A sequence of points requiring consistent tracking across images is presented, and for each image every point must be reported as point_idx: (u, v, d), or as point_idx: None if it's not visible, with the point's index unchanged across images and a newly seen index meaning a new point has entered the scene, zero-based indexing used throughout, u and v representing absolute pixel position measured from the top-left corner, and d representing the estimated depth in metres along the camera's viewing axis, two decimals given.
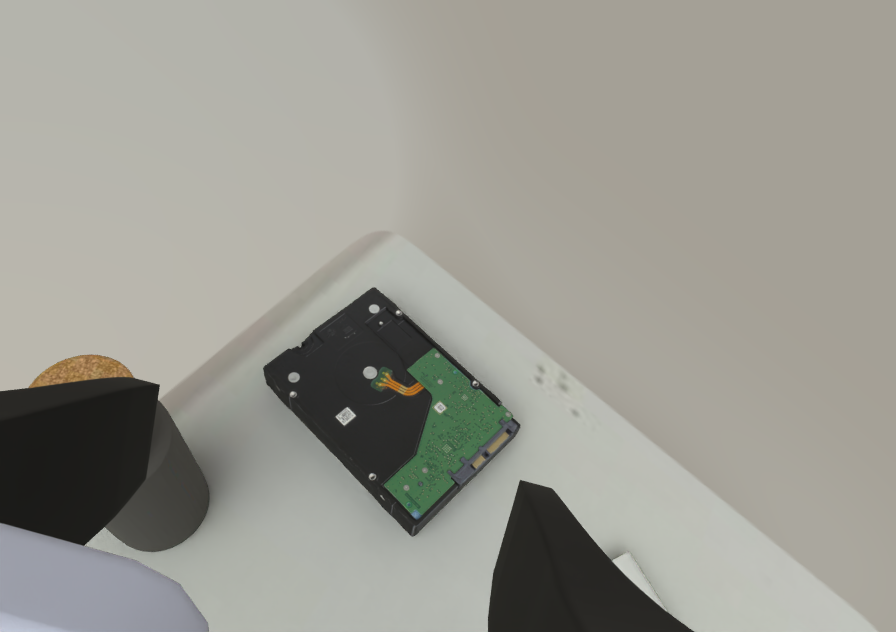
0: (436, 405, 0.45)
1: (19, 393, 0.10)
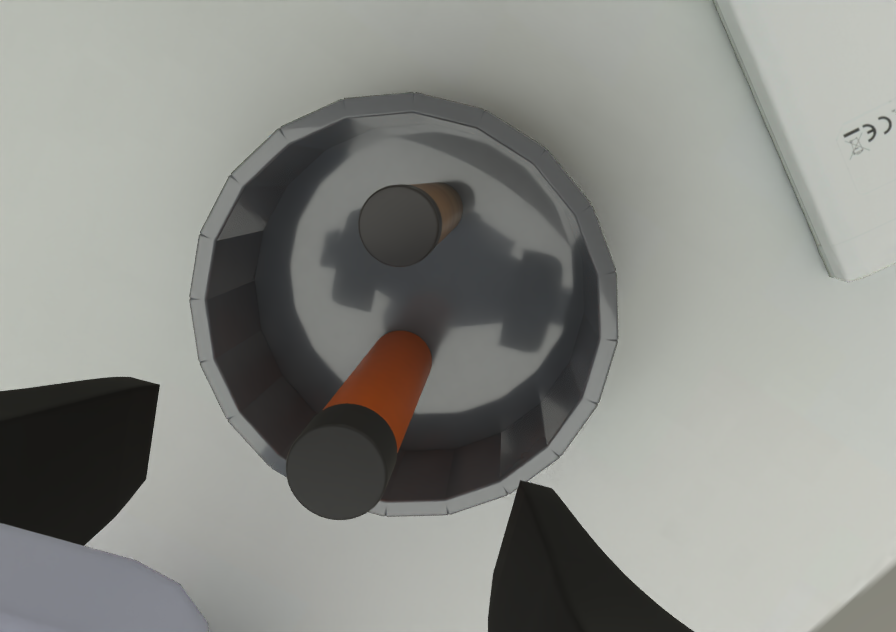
0: None
1: (19, 393, 0.10)
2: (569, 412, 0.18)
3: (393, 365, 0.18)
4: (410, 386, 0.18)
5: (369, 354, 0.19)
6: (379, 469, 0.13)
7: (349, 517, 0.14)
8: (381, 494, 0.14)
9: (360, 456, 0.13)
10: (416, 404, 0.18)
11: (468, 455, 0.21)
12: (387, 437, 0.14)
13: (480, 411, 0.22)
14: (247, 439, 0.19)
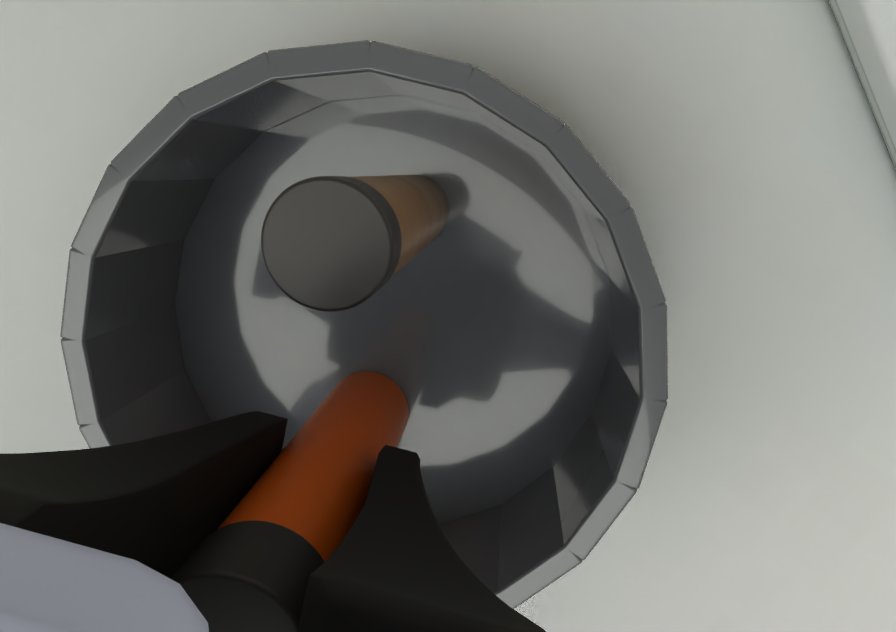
0: None
1: (181, 436, 0.10)
2: (596, 500, 0.13)
3: (345, 433, 0.13)
4: (369, 465, 0.12)
5: (317, 412, 0.14)
6: None
7: None
8: None
9: (262, 625, 0.08)
10: None
11: (457, 538, 0.16)
12: None
13: (473, 477, 0.17)
14: None
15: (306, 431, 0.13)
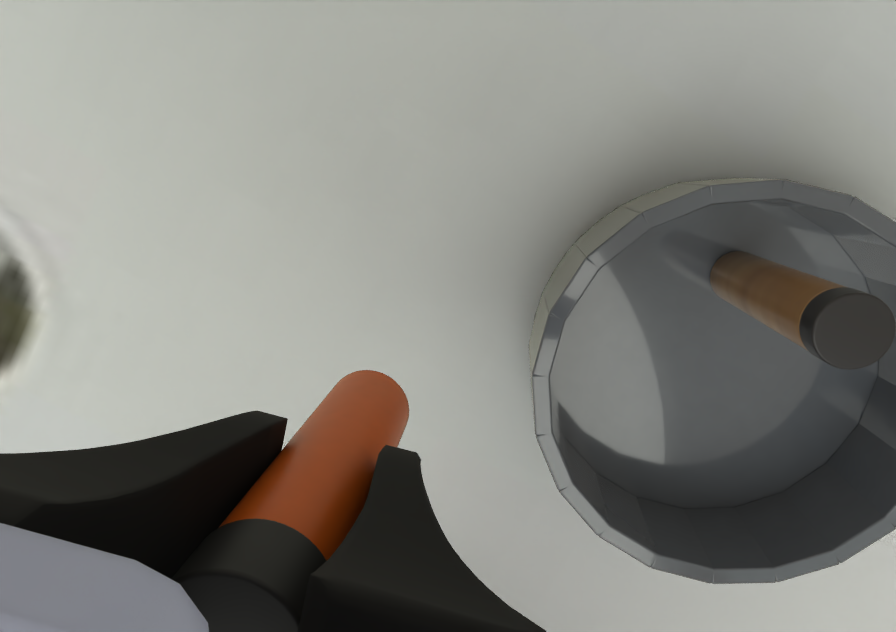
0: None
1: (180, 436, 0.10)
2: None
3: (345, 431, 0.13)
4: (369, 463, 0.12)
5: (318, 410, 0.14)
6: None
7: None
8: None
9: (263, 623, 0.08)
10: None
11: (760, 516, 0.22)
12: None
13: (763, 471, 0.22)
14: (575, 509, 0.20)
15: (307, 430, 0.13)
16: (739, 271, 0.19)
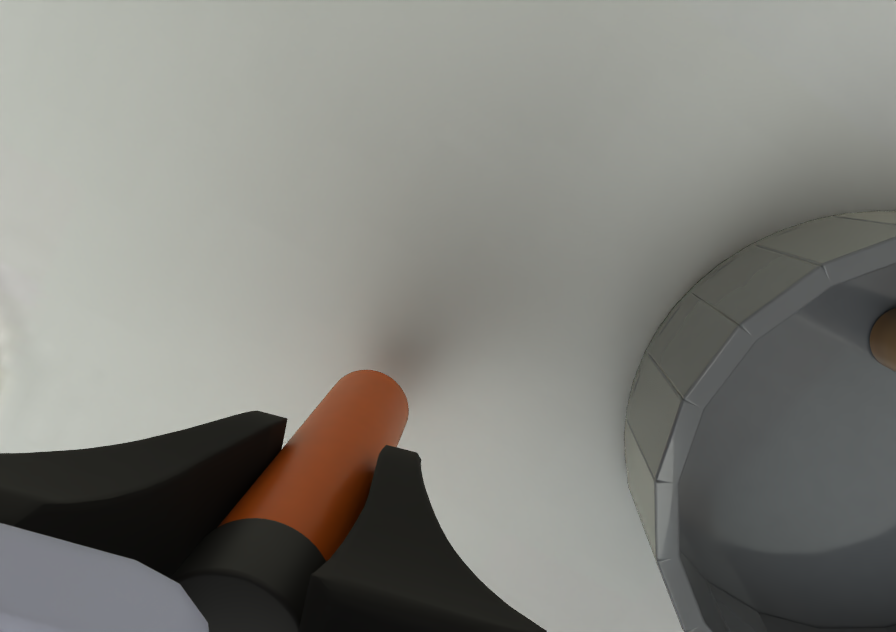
0: None
1: (180, 436, 0.10)
2: None
3: (345, 431, 0.13)
4: (368, 463, 0.12)
5: (317, 410, 0.14)
6: None
7: None
8: None
9: (262, 622, 0.08)
10: None
11: None
12: None
13: None
14: None
15: (306, 429, 0.13)
16: None
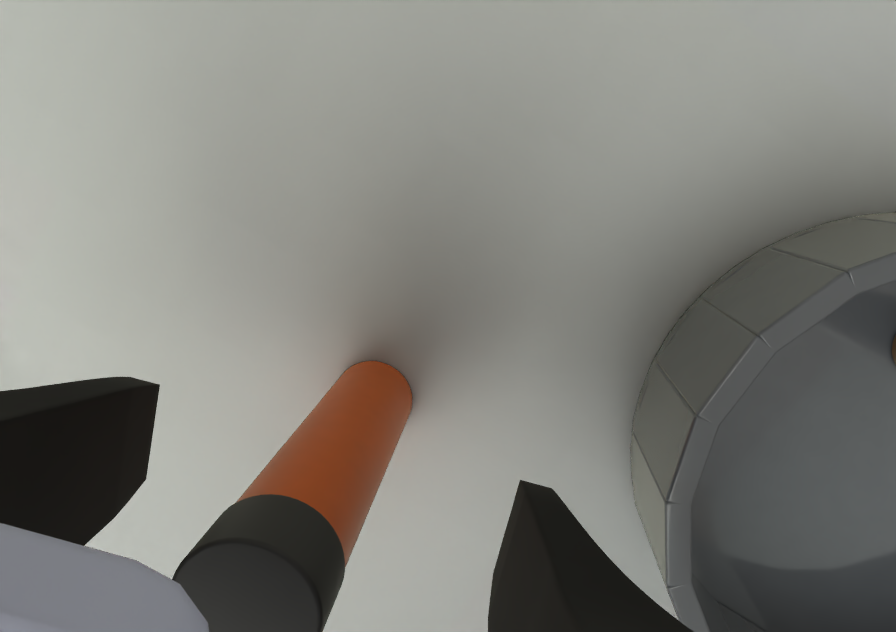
0: None
1: (19, 393, 0.10)
2: None
3: (353, 417, 0.13)
4: (376, 447, 0.13)
5: (325, 398, 0.15)
6: (310, 607, 0.09)
7: None
8: None
9: (280, 588, 0.09)
10: (385, 469, 0.14)
11: None
12: (326, 550, 0.09)
13: None
14: None
15: (315, 415, 0.13)
16: None
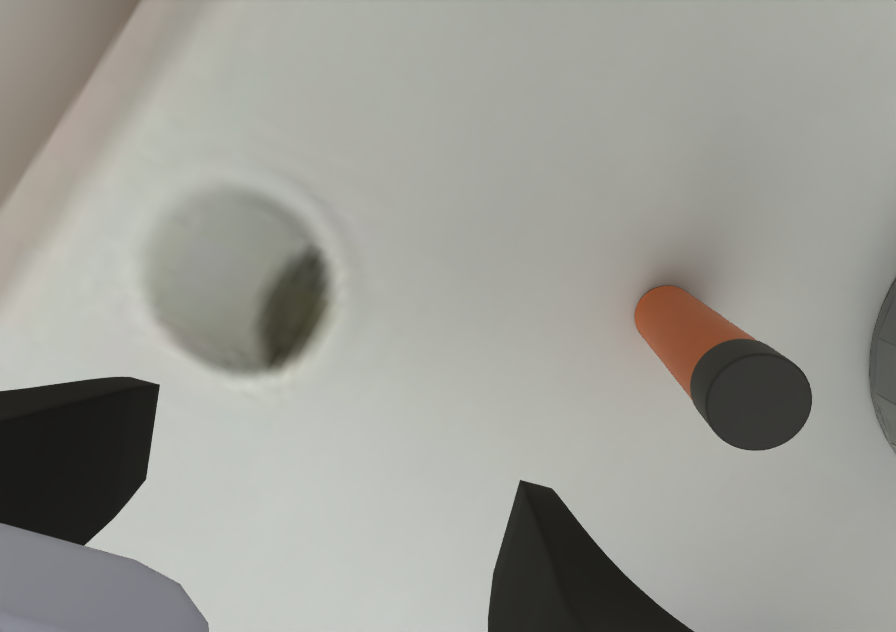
0: None
1: (19, 393, 0.10)
2: None
3: (713, 311, 0.18)
4: None
5: (668, 304, 0.19)
6: (804, 399, 0.14)
7: (766, 447, 0.14)
8: (803, 424, 0.14)
9: (787, 386, 0.14)
10: None
11: None
12: None
13: None
14: None
15: (684, 310, 0.18)
16: None
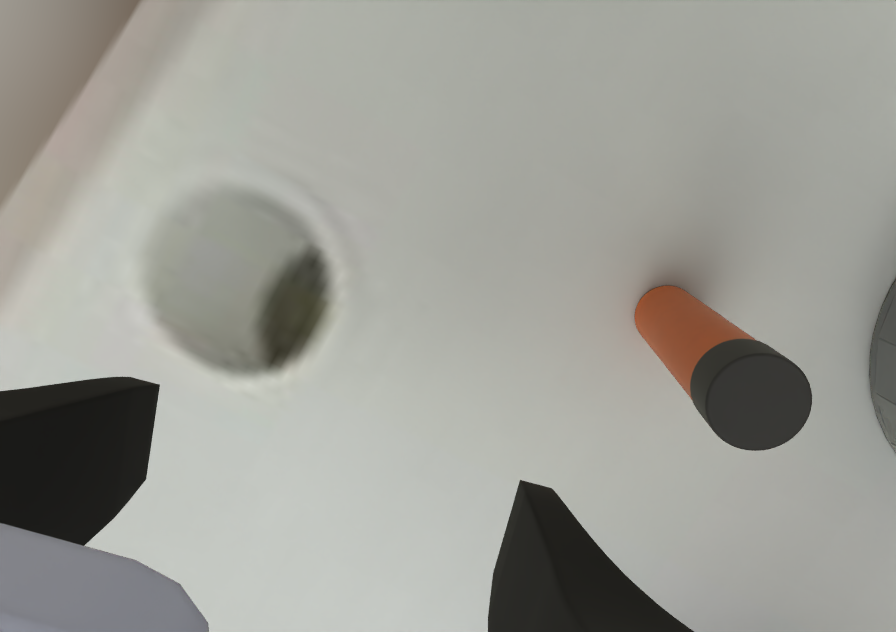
0: None
1: (19, 393, 0.10)
2: None
3: (714, 311, 0.18)
4: None
5: (668, 304, 0.19)
6: (804, 399, 0.14)
7: (766, 447, 0.14)
8: (803, 424, 0.14)
9: (787, 386, 0.14)
10: None
11: None
12: None
13: None
14: None
15: (684, 310, 0.18)
16: None
